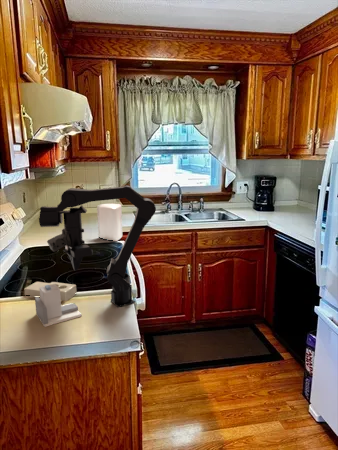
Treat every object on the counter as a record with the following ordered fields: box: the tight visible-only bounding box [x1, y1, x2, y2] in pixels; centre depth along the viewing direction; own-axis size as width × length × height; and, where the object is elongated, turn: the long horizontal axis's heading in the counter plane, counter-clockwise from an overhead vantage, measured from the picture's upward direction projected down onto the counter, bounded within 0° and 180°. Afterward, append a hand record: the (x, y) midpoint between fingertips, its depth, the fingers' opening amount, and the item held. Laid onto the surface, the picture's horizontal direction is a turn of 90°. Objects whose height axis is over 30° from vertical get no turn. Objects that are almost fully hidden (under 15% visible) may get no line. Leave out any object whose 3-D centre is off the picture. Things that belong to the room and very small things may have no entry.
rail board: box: [34, 297, 82, 327], centre depth 111 cm, size 12×10×6 cm
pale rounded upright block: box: [96, 203, 123, 242], centre depth 208 cm, size 15×14×22 cm
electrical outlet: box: [23, 281, 78, 302], centre depth 128 cm, size 7×4×18 cm
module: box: [39, 284, 62, 319], centre depth 109 cm, size 5×6×10 cm
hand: (75, 269), depth 116 cm, fingers closed
